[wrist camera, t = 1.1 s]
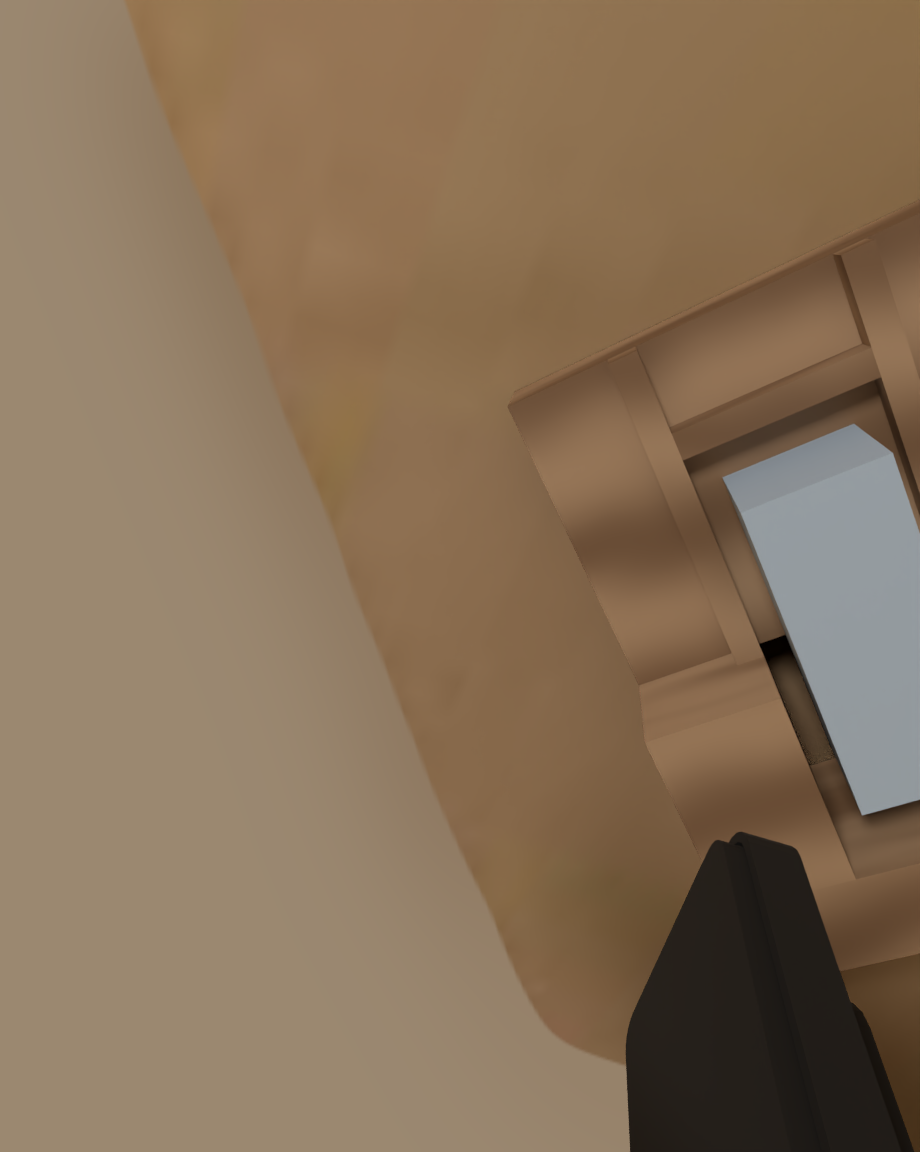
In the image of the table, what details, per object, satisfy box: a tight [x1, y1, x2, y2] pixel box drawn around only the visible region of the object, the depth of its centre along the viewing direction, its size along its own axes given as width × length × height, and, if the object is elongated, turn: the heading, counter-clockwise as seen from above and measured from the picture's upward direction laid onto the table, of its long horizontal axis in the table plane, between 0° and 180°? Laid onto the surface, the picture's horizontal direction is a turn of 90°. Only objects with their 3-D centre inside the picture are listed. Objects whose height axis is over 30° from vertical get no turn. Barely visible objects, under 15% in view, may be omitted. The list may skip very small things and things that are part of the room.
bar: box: [722, 424, 920, 815], centre depth 29 cm, size 12×4×4 cm, turn 27°
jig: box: [508, 200, 920, 971], centre depth 30 cm, size 24×16×7 cm, turn 27°
